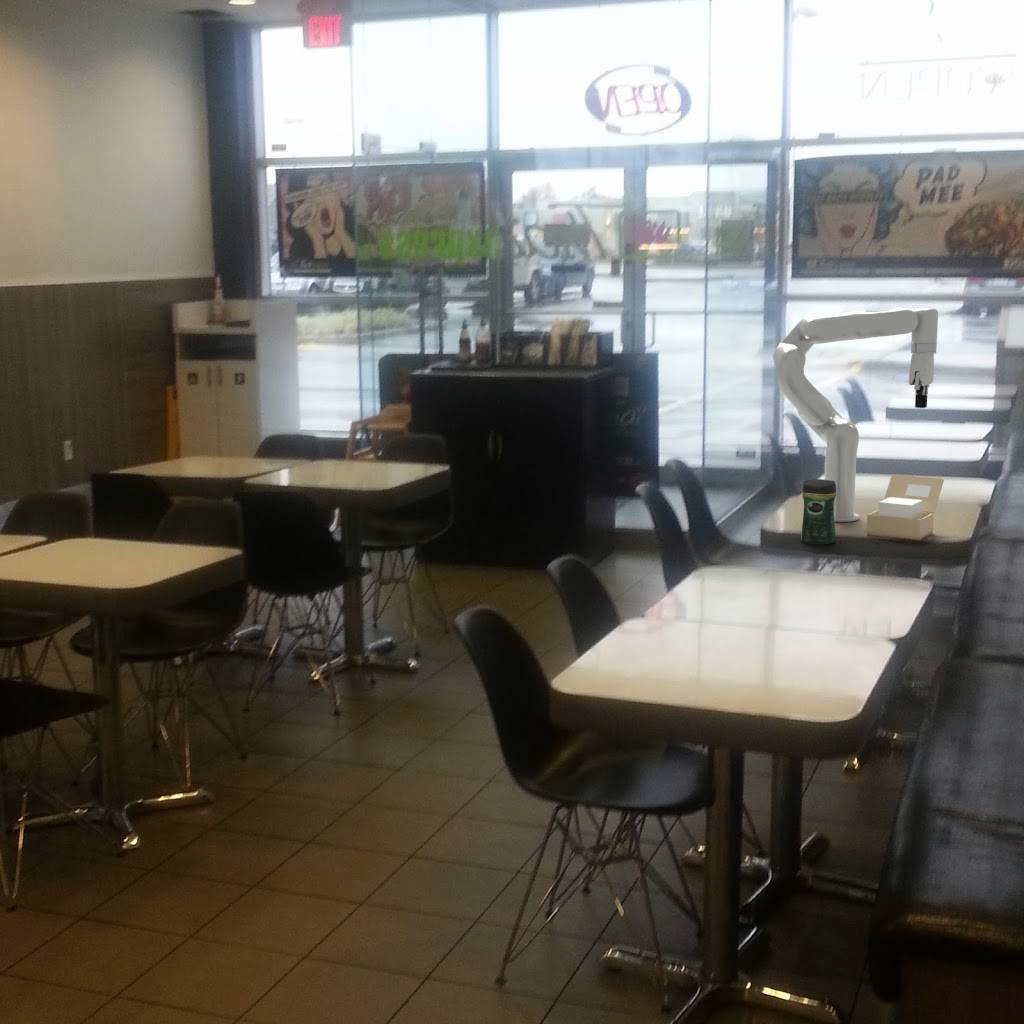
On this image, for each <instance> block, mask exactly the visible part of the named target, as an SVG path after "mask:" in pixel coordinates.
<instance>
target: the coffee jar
mask: <svg viewBox="0 0 1024 1024" xmlns="http://www.w3.org/2000/svg"><path fill="white" fill-rule="evenodd" d="M836 494H837V492H836V484H835V481H832V480H824V479H821V478H820V479H819V478H809V479H806V480H804V481H803V485H802V491H801V496H802V498H803V499H802V500H803V515H802V525H801V533H800V541H802V542H803V543H807V544H811V545H812V544H813V545H827V544H828V545H829V544H830V545H831V544H833V543H834V542H835V541H836V525H835V522H834V499H835V497H836Z"/></svg>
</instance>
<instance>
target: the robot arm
mask: <svg viewBox="0 0 1024 1024" xmlns="http://www.w3.org/2000/svg"><path fill="white" fill-rule="evenodd" d="M938 321H939V311H938V310H937V308H932V307H924V308H923V307H919V308H906V307H894V308H892V309H890V310H889V311H878V312H877V311H876V312H873V311H872V312H871V311H870V312H866V311H849V312H841V313H833V314H825V315H814V314H813V315H806V316H804V317H803V318H801V320H800V321H798V322H797V324H796V325H795V326H794V327H793V328H792V329H791V331H789V332H788V334H787V335H786V336H785V337H784V338H783V339H782V340H781V341H780V342H779V344H778V345H777V346H776V347H775V348H774V351H773V354H772V357H773V358H772V359H773V363H774V364H775V365H776V367H777V368H776V369H777V370H776V381H777V385H778V388H779V390H780V391H781V393H782V394H783V395H784V397H785V398H786V399H787V400H788V401H789V402H790V404H792V406H794V408H795V409H796V410H797V414H798V416H799V417H800V419H801V420H802V422H804V423H805V424H806V425H807V426H808V427H809V428H810V429H811V430H812V431H813V432H814V433H815V434H816V435H817V436H818V437H819V438H821V440H822V441H823V442H825V443H826V450H825V457H824V458H825V459H824V479H823V480H832V481H835V484H836V492H837V494H836V497H835V499H834V523H837V522H838V523H849V522H855V521H858V520H860V515H859V514H858V513H855V502H856V501H855V498H856V497H855V496H856V477H857V476H856V474H857V473H856V471H857V470H856V468H857V453H858V449H859V440H860V434H859V430H858V428H857V426H856V425H855V423H853V422H852V421H850V420H848V419H846V418H845V417H843V416H842V415H841V414H840V413H839V412H838V411H837V410H836V409H835V407H833V405H832V403H831V401H830V400H829V399H828V398H827V397H826V396H824V394H822V393H821V392H820V391H819V390H818V389H817V388H816V387H815V386H814V384H813V383H811V382H810V380H809V379H808V378H807V377H806V374H805V372H804V369H805V365H806V359H807V357H806V356H807V355H806V354H807V353H808V352H809V351H810V349H811V348H812V347H813V346H814V345H818V344H827V343H834V342H843V341H852V340H855V341H856V340H865V339H870V338H880V337H890V336H891V337H892V336H899V335H907V334H910V333H911V342H910V344H911V345H910V354H911V359H910V366H909V372H908V373H909V375H908V384H909V385H910V386H913V389H914V390H915V401H914V402H915V403H914V407H915V409H916V408H917V409H926V408H927V407H928V394H929V388H930V385H931V384H932V383H934V377H935V376H934V375H935V354H937V344H938V341H937V340H938V324H939V322H938Z"/></svg>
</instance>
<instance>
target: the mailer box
mask: <svg viewBox="0 0 1024 1024" xmlns="http://www.w3.org/2000/svg"><path fill="white" fill-rule="evenodd" d="M922 503H923V500H915V499H904V498H894V497H889V498H887V499H884V498H883V500H880V501H878V507H877V510H875V511H872V512H870V513H868V514H867V516H866V517H867V520H866V521H867V522H866V523H867V524H866V535H869V534H874V535H873V536H878V535H881V536H880V537H886V536H889V537H888V538H895V537H896V538H897V539H904V538H905V540H914V541H921V540H922V538H923V539H925V538H926V536H927V537H928V536H930V535H933V533H934V517H935V516H934V515H935V513H924V512H922ZM924 537H925V538H924Z"/></svg>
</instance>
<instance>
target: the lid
mask: <svg viewBox="0 0 1024 1024" xmlns="http://www.w3.org/2000/svg"><path fill="white" fill-rule="evenodd" d="M944 481H945V479H944V478H939V477H926V476H918V475H917V476H915V475H905V474H893V473H892V474H891V476H890V480H889V483H888V485H887V489H886V493H885V495H884V498H883V500H884V499H887V498H889V497H894V498H904V499H915V500H923V503H922V512H924V513H934V514H935V512H936V508H937V506H938V503H939V502H938V501H939V499H940V496H941V492H942V489H943V486H944Z"/></svg>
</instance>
